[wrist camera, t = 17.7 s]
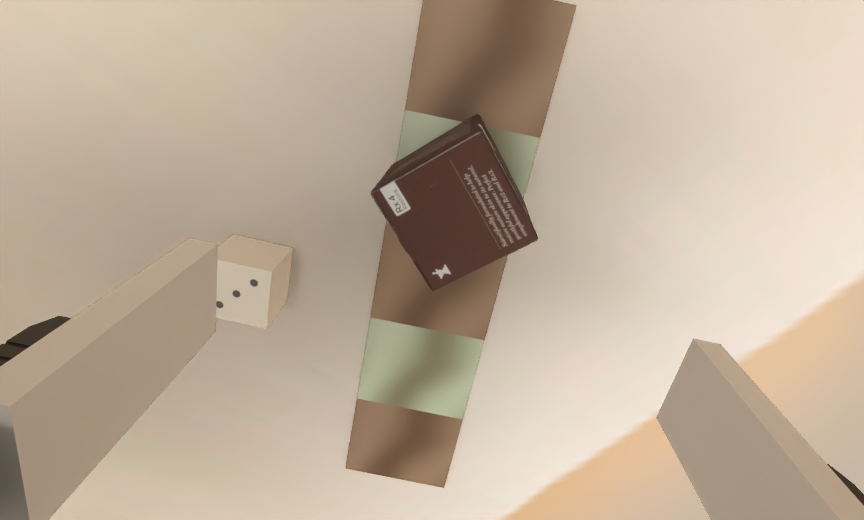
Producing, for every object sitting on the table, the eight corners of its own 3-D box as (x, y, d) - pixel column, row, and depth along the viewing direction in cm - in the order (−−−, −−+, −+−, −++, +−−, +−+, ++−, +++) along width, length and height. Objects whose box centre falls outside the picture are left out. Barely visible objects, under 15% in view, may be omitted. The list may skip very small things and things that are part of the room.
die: (230, 287, 34) (201, 315, 31) (233, 234, 33) (204, 257, 29) (287, 299, 35) (265, 329, 31) (293, 247, 33) (271, 272, 29)
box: (525, 200, 30) (542, 242, 24) (439, 244, 32) (432, 296, 25) (478, 110, 29) (482, 128, 22) (389, 161, 30) (367, 193, 23)
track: (346, 465, 40) (345, 468, 40) (427, -26, 26) (427, -27, 26) (444, 484, 40) (443, 487, 40) (575, 5, 26) (576, 5, 26)
